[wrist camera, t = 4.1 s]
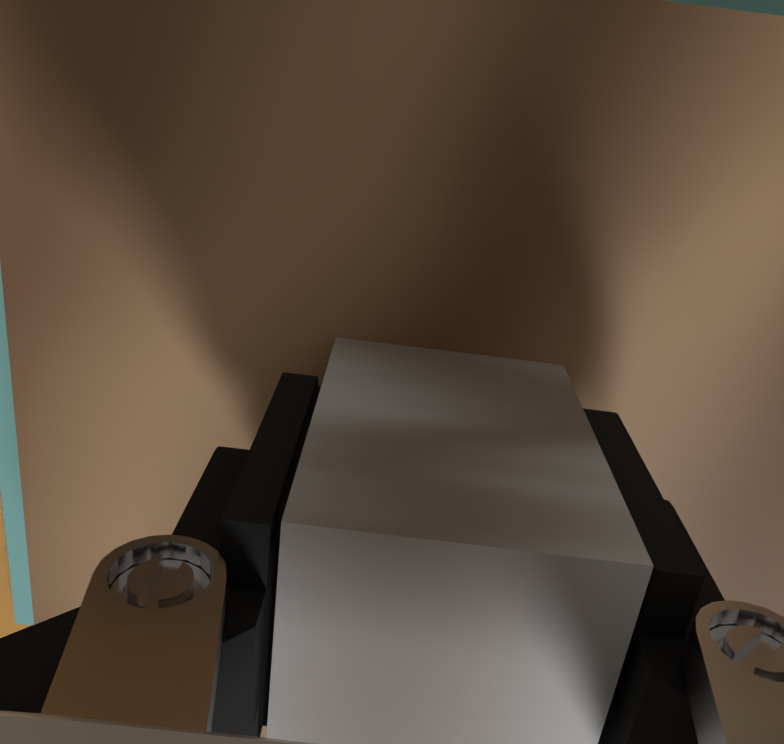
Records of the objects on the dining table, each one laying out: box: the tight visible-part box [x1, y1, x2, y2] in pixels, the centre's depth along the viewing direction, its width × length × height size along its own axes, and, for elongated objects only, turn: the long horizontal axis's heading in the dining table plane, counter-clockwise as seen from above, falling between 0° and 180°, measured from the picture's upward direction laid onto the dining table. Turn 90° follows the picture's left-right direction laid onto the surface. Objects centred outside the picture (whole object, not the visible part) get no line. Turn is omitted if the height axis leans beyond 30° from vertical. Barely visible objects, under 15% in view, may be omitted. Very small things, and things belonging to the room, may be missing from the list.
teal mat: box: [0, 0, 784, 625], centre depth 16 cm, size 16×16×1 cm
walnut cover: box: [0, 0, 784, 744], centre depth 11 cm, size 14×14×6 cm
